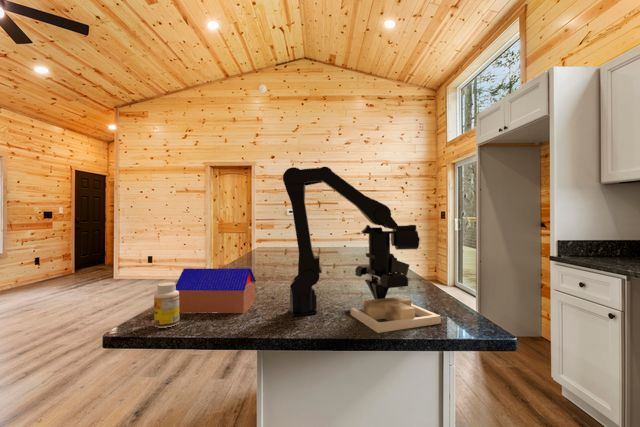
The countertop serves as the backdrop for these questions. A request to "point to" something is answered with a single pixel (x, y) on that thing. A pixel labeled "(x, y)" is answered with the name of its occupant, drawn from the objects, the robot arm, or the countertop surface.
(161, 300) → the supplement bottle
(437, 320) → the corral
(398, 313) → the tee block
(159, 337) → the countertop surface
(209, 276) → the house
